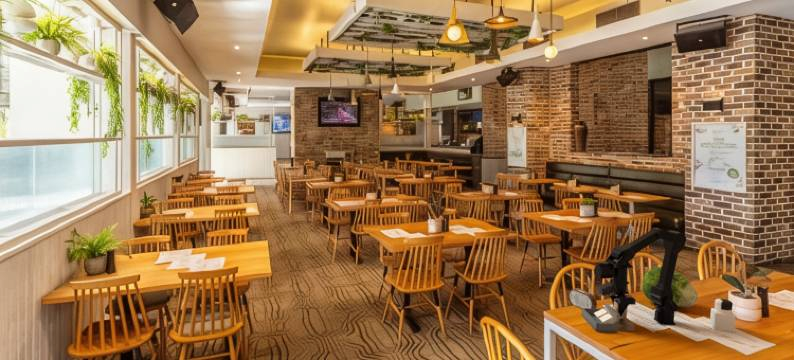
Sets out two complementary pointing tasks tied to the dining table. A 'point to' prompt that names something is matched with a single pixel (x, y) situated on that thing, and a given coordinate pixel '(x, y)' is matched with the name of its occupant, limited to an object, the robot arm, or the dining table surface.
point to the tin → (582, 298)
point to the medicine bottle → (723, 316)
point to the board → (625, 325)
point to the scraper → (615, 312)
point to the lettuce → (680, 286)
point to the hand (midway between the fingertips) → (618, 314)
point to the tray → (597, 321)
